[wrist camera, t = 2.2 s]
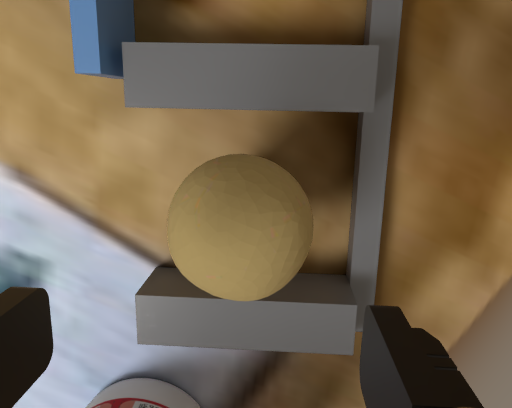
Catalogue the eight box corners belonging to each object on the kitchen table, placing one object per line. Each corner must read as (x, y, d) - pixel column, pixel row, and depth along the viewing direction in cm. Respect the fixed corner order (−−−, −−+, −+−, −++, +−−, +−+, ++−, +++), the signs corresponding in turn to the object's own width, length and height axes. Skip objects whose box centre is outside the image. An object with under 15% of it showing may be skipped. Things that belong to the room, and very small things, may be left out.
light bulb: (321, 164, 25) (347, 205, 15) (280, 258, 26) (279, 350, 17) (220, 123, 25) (180, 137, 15) (184, 220, 26) (127, 292, 16)
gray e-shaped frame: (99, -228, 21) (43, -328, 16) (417, -235, 20) (460, -343, 15) (129, 308, 28) (97, 352, 23) (366, 319, 27) (385, 368, 22)
